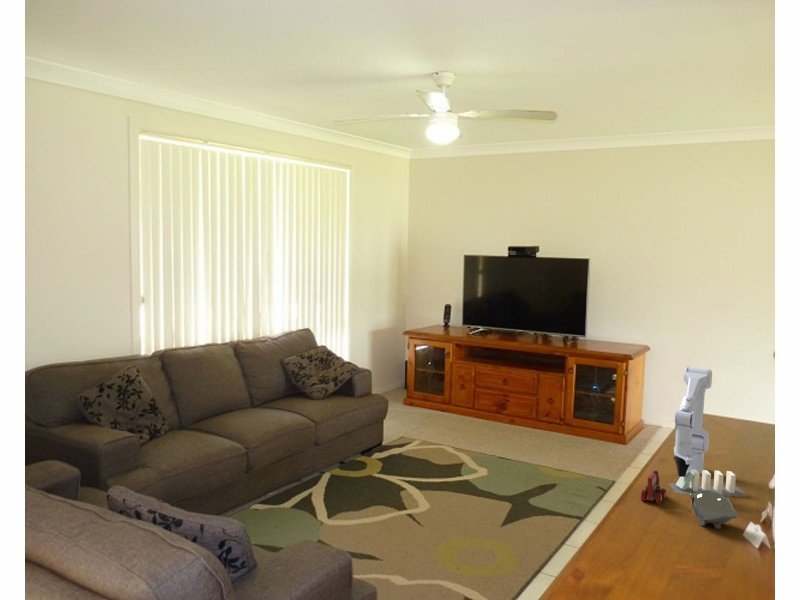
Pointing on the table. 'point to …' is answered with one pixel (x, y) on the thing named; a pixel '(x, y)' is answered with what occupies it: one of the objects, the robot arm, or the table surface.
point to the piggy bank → (712, 507)
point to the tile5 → (730, 482)
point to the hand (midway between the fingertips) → (681, 476)
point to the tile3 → (706, 480)
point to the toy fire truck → (653, 489)
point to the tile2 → (694, 480)
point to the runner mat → (689, 490)
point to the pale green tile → (685, 480)
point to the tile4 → (718, 481)
